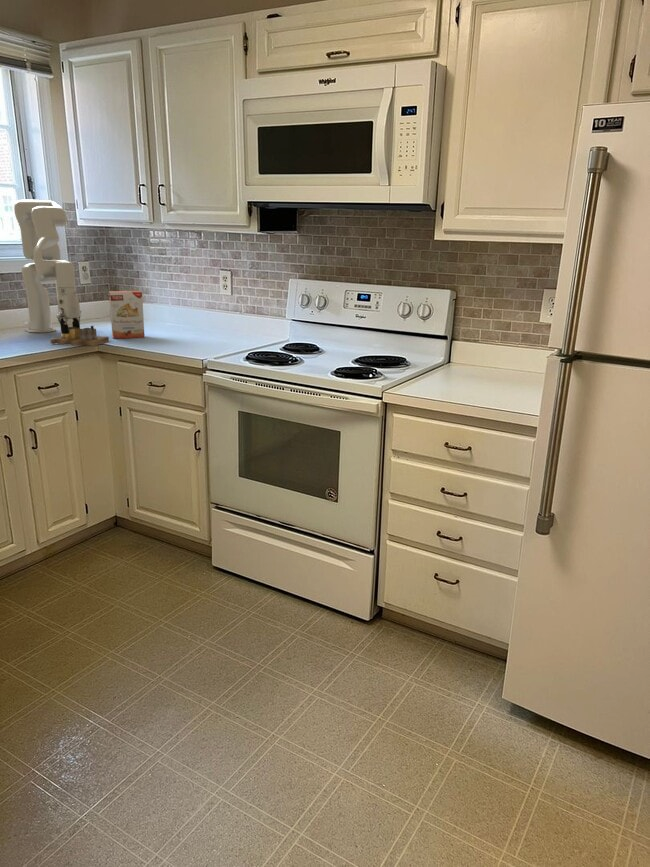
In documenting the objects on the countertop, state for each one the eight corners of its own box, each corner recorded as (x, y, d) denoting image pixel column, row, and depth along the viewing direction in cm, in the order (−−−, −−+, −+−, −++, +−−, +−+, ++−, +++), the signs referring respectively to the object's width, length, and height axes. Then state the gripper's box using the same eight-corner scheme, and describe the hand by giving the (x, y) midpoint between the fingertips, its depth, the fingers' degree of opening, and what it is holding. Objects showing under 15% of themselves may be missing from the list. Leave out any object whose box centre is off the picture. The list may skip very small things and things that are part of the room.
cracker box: (113, 339, 292) (109, 292, 285) (112, 337, 297) (108, 290, 291) (145, 337, 297) (142, 291, 291) (143, 335, 302) (140, 290, 296)
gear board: (50, 343, 277) (48, 326, 275) (68, 339, 289) (66, 322, 287) (93, 346, 274) (91, 328, 271) (108, 341, 286) (107, 324, 284)
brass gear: (59, 338, 279) (58, 329, 278) (68, 335, 286) (67, 326, 285) (74, 339, 278) (73, 329, 277) (83, 336, 284) (82, 327, 283)
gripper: (63, 293, 267) (67, 335, 272) (85, 290, 283) (89, 329, 288) (46, 292, 268) (51, 334, 274) (70, 289, 285) (74, 329, 290)
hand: (70, 332), depth 281 cm, fingers open, 8 cm apart
